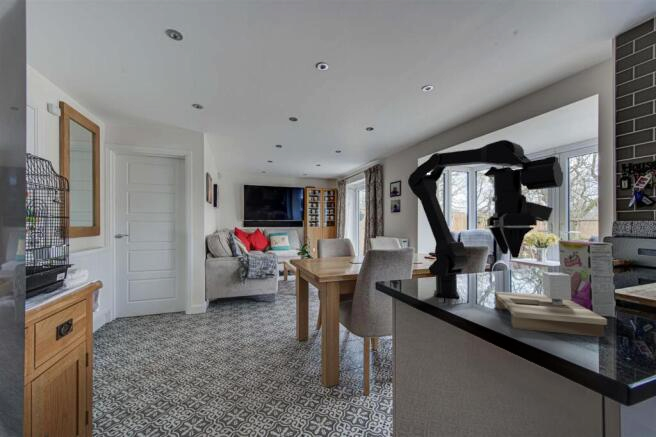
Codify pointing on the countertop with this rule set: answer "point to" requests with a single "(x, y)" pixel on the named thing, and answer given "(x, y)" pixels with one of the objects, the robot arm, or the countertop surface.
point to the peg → (557, 287)
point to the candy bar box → (590, 274)
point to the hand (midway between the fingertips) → (509, 255)
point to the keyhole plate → (549, 314)
